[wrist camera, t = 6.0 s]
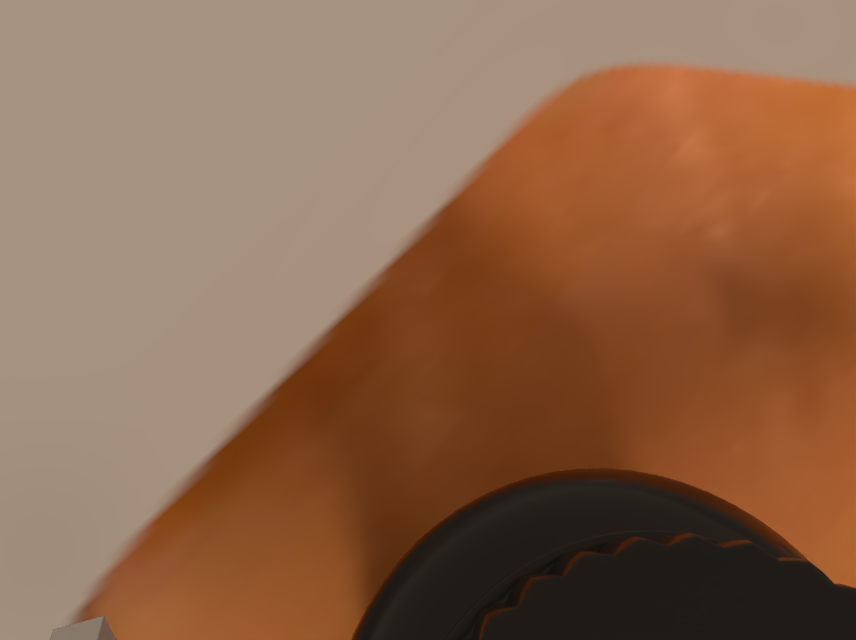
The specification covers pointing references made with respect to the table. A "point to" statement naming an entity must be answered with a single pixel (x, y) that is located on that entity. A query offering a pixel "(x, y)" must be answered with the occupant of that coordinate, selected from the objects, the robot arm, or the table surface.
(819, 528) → the table surface
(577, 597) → the supplement bottle
